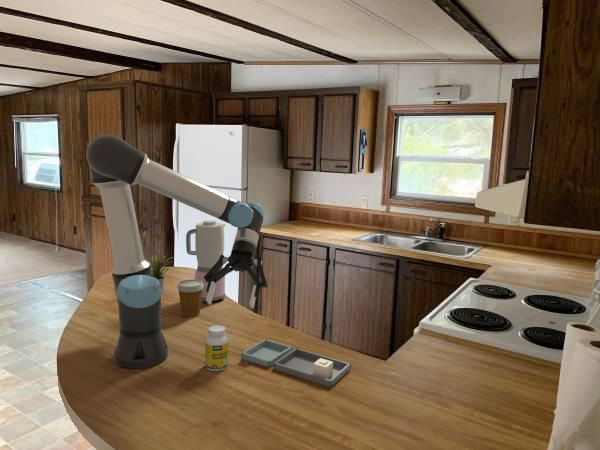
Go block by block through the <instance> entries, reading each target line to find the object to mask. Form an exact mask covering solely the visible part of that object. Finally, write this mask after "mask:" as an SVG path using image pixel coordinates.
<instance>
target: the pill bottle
mask: <svg viewBox="0 0 600 450" xmlns="http://www.w3.org/2000/svg"><path fill="white" fill-rule="evenodd" d="M204 342H205V343H204V366H205V368H206V370H208V371H212V372H220V371H223V370H225V369H227V368H228V366H229V365H228V364H229V338H228V336H227V334H226V326H224V325H220V324H219V325H218V324H215V325H214V324H213V325H211V326H209V328H208V335H206V337H205V340H204Z"/></svg>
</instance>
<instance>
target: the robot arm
mask: <svg viewBox="0 0 600 450" xmlns="http://www.w3.org/2000/svg"><path fill="white" fill-rule="evenodd" d="M85 156H86V160H87V163H88V167H89V168H88V169H89V172H90V177H91V182H92V185H93V186H95V187H97V188H98V189H99V193H100V198H101V202H102V208H103V211H104V216H105V221H106V226H107V232H108V236H109V242H110V246H111V251H112V255H113V259H114V264H115V265H114V266H113V268H112V269H111V271H110V272H111V275H112V280H113V285H114V291H115V292H114V293H115V296H116V299H117V305H118V322H119V323H118V324H119V335H118V338H117V343H116V347H115V348H114V350H113V361H114V364H116V365H117V366H119V367H121V368H124V369H144V368H150V367H154V366H156V365H158V364H161V363H162V362H164V361H165V360H166V359H167V358H168V356H169V347H168V346H169V345H168V344H167V342H166V338H165V336H164V333H163V330H162V293H161V287H160V282H159V281H158V280H157V279H156V278H154V277H153V275H152V271H153V270H151V269H152V264H151V262H150V261H149V260H146V259H145V255H144V251H143V245H142V241H141V234H140V230H139V224H138V221H137V215H136V211H135V206H134V204H135V203H134V199H133V193H132V189H131V186H134V185H137V184H138V185H139V186H142V187H144V188H147V189H149V190H151V191H153V192H156V193H158V194H160V195H163V196H165V197H167V198H169V199H172V200H174V201H176V202H179V203H182V204H183V205H186V206H188V207H190V208H192V209H195V210H198V211H199V212H202V213H204V214H206V215H209V216H211V217H214V218H216V219H218V220H220V221H223V222H224V223H227V224H229V225H230V226H232V227H235V228H237V230H236V233H235V234H236V235H235V237H234V241H233V244H232V247H231V252H230V255H229V256H225V255H224V254H223V255H221V256H220V258H219V260H218V261H217V262H216V264H215V265H214V266H213V267H212V268H211V269H210V270H209V271H208V273H207V274H206V275H205V276H204V279H205V281H206V282H208V286H207V289H206V291H207V293H208V295H207V299H206V301H205V302H206V303H207V304H208V305H212V302H213V301H212V298H213V295H214V291H215V288H216V285H215V283H216V282H217V281H219V280H220V279H221V278H223V277H224V276H225V277H226V275H228V274H230V273H232V272H233V271H234V272H241V273H245V272H247V274H248V275H249V276H250V277H251V280H252V281H253V283H254V285H253V287H252V290H251V295H250V299H249V304H248V305H249V306H250V309H254V308H255V303H256V299H257V298H258V299H259V298H260V294H261V291H262V289H263V288H268V282H267V279H266V276H265V272H264V269H263V259H262V258H261V257H258V258H256V259H255V254H256V250H257V246H258V242H259V238H260V232H261V229H262V226H263V223H264V218H265V210H264V208H263V206H262V205H260V204H258V203H254V202H247V203H246V202H243V201H240V200H238V199H236V198H234V197H232V196H229V195H227V194H226V193H224V192H222V191H219V190H216V189H214V188H213V187H210V186H208V185H205V184H203V183H202V182H199V181H196V180H195V179H192V178H190V177H188V176H187V175H184V174H182V173H180V172H177V171H176V170H173V169H172V168H170V167H169V168H168V167H166V166H165V165H162V164H160V163H158V162H157V161H153V159H152V160H151V159H150V158H149V157H148V154H147V153H145V152H143V151H141V150H139V149H137V148H135V147H133V146H132V145H130V144H129V143H128V142H127V141H125V140H124V139H122V138H121V137H119V136H117V135H115V134H110V133H109V134H100V135H97V136H95V137H94V138H93V139H91V140H90V142H89V143H88V144H87V147H86V151H85ZM224 265H225V266H224ZM253 265H255V266H256V267H257V270H258V272H259V275H260V278H261V281H260V280H259V278H258V277H257V275H256V273H254V271H253V269H252V268H251V267H252V266H253ZM223 266H224V267H223ZM221 268H222V269H221ZM220 269H221V270H220ZM219 270H220V271H219Z"/></svg>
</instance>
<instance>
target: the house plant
mask: <svg viewBox="0 0 600 450" xmlns="http://www.w3.org/2000/svg"><path fill="white" fill-rule="evenodd" d="M154 255H155V256H154ZM154 255H152V256H151V270H152V275H153V277H154V278H156V279H157V280H158V281H159V282H160V287H161V294H162V293H164V290H165V285H166V284H165V283H166V276H164V275H165V274H166V273H167V271H168V270H170V271H171V268H173V267H172V266H171V267H169V268H168V267H166V265H168V264H169V263H172V262H173V261H169V260H170V259H174V258H175V256H174V257H173V256H171V257H169V258H167V259H166V258H165V257H167V255H166V254H165V255H164V256H163V257H162V258H161V259H158V256H157V255H156V253H155V254H154ZM165 259H166V260H165Z"/></svg>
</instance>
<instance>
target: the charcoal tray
mask: <svg viewBox="0 0 600 450" xmlns="http://www.w3.org/2000/svg"><path fill="white" fill-rule="evenodd" d="M320 358H322V359H325V360H329V361H332V362H333V375H332V376H331V377H330V378H329V379H326V378H323V377H320V376H316V375H313V363H315V362H316V361H317V360H319V359H320ZM351 369H352V368H351V363H350V362H345V361H342V360H339V359H336V358H332V357H329V356H325V355H322V354H318V353H315V352H311V351H308V350H305V349H301V348H298V347H296V348H294V349H292V351H291V352H289V353H288V354H286V355H285V356H283V357H282V358H280V359H279V360H278V361H276V362H275V363H274V365H273V370H275V371H279V372H282V373H285V374H288V375H291V376H295V377H298V378H300V379H304V380H306V381H310V382H312V383H315V384H319V385H322V386H324V387H328V388H332V387H333V386H334V385H335V384H336V383H338V381H340V379H342V378H343V377H344V376H345V375H346V374H347V373H349V372H350V371H351Z"/></svg>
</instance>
